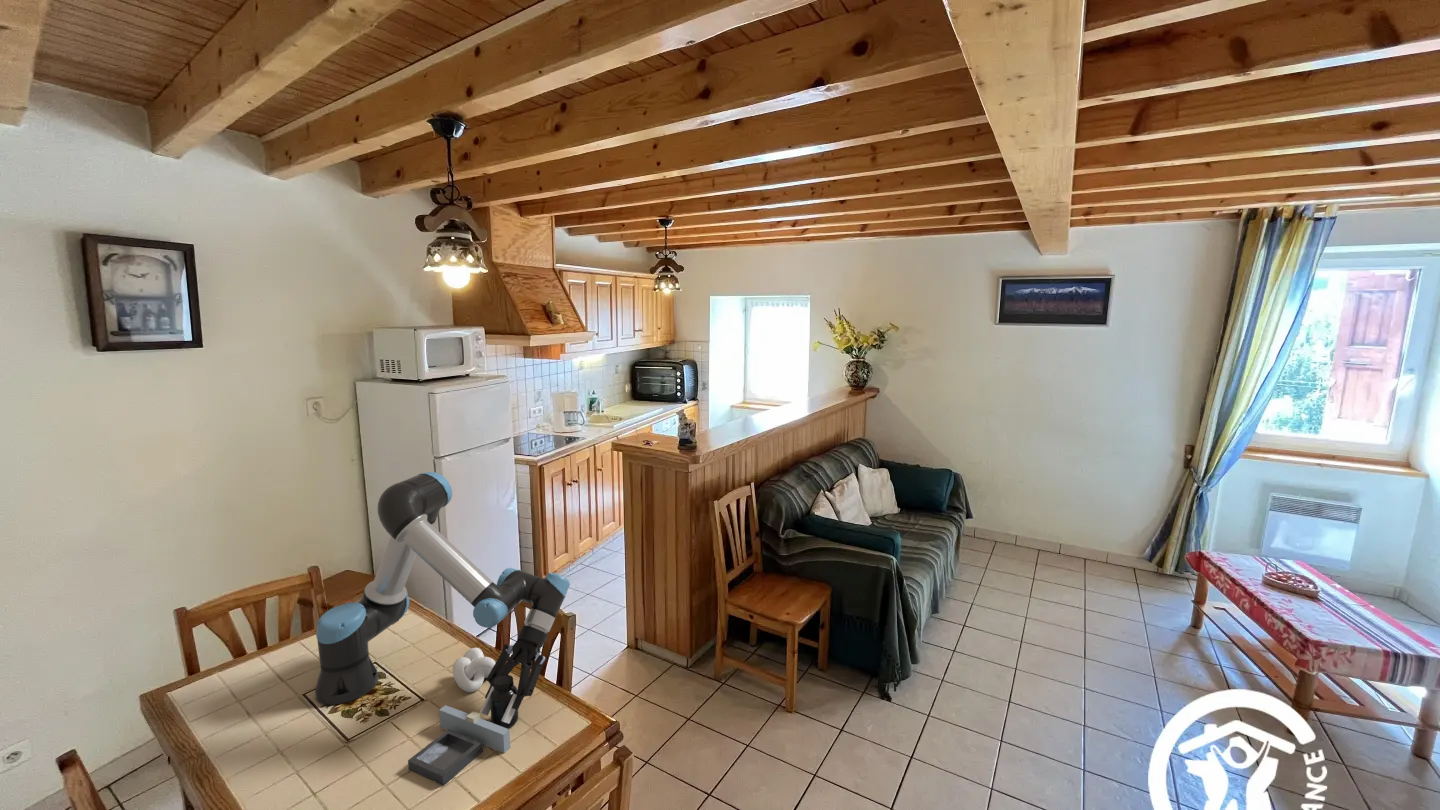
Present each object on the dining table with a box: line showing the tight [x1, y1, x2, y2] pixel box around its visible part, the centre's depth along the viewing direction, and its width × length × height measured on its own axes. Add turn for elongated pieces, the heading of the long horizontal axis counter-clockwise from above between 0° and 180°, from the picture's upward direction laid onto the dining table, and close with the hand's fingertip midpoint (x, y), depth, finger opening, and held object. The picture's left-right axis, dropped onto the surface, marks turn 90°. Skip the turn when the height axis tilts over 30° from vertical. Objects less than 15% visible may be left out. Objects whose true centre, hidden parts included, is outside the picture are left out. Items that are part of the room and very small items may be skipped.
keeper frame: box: [407, 729, 484, 787], centre depth 136 cm, size 12×12×2 cm
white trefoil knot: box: [452, 647, 496, 693], centre depth 165 cm, size 11×12×9 cm
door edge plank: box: [438, 704, 511, 754], centre depth 143 cm, size 22×2×6 cm, turn 66°
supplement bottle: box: [490, 674, 519, 729], centre depth 149 cm, size 7×7×12 cm
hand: (494, 718), depth 146 cm, fingers closed on supplement bottle, 7 cm apart
